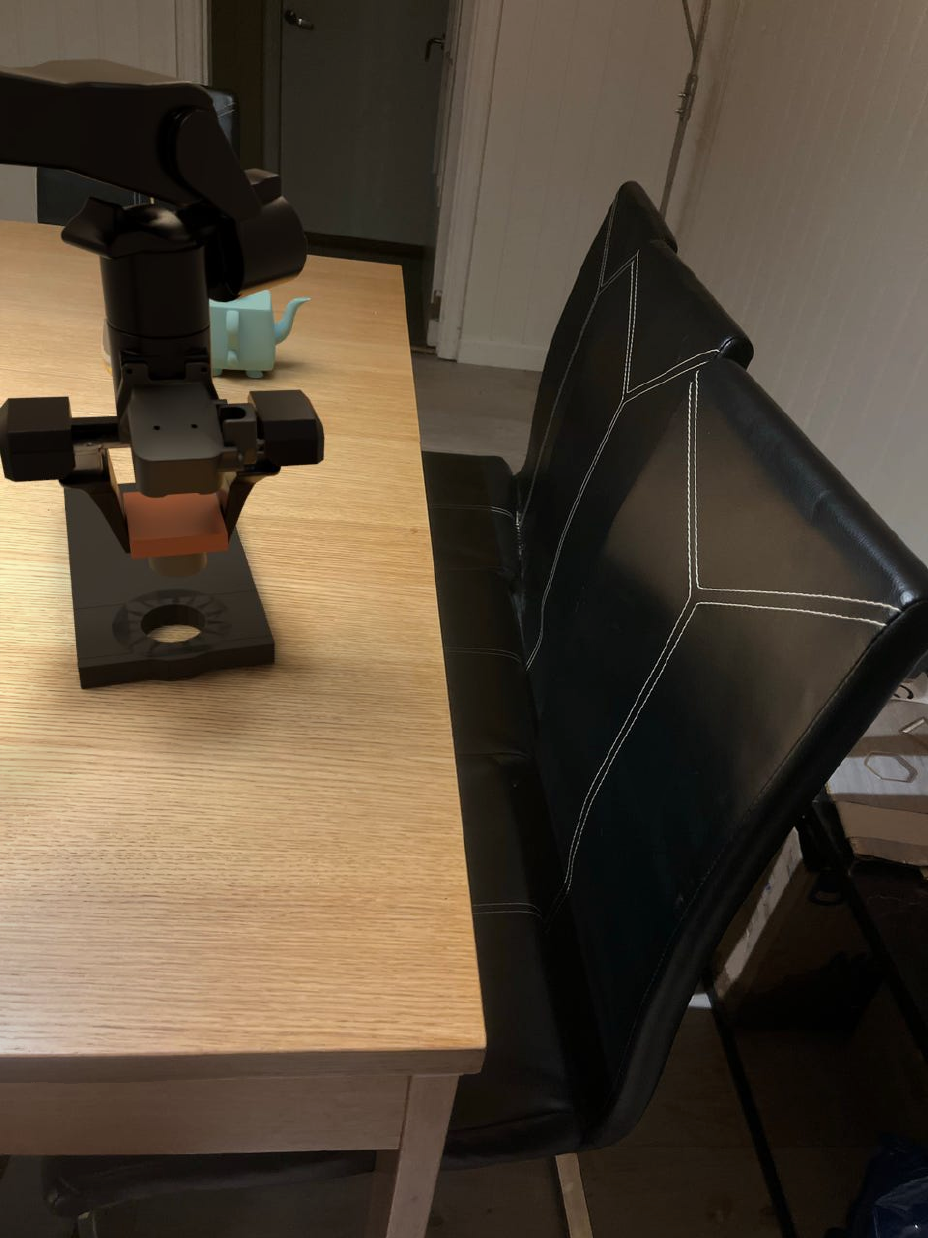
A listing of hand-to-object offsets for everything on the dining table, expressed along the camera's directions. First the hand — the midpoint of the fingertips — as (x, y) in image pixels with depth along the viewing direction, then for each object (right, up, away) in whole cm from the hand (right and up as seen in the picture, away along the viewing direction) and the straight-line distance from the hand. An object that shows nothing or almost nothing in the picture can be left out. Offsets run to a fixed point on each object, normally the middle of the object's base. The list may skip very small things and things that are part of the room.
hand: (176, 545), depth 62 cm
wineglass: (-15, +15, +36) cm, 42 cm away
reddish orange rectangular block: (0, -1, +1) cm, 1 cm away
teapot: (-9, +27, +53) cm, 61 cm away
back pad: (-6, -1, +16) cm, 17 cm away
